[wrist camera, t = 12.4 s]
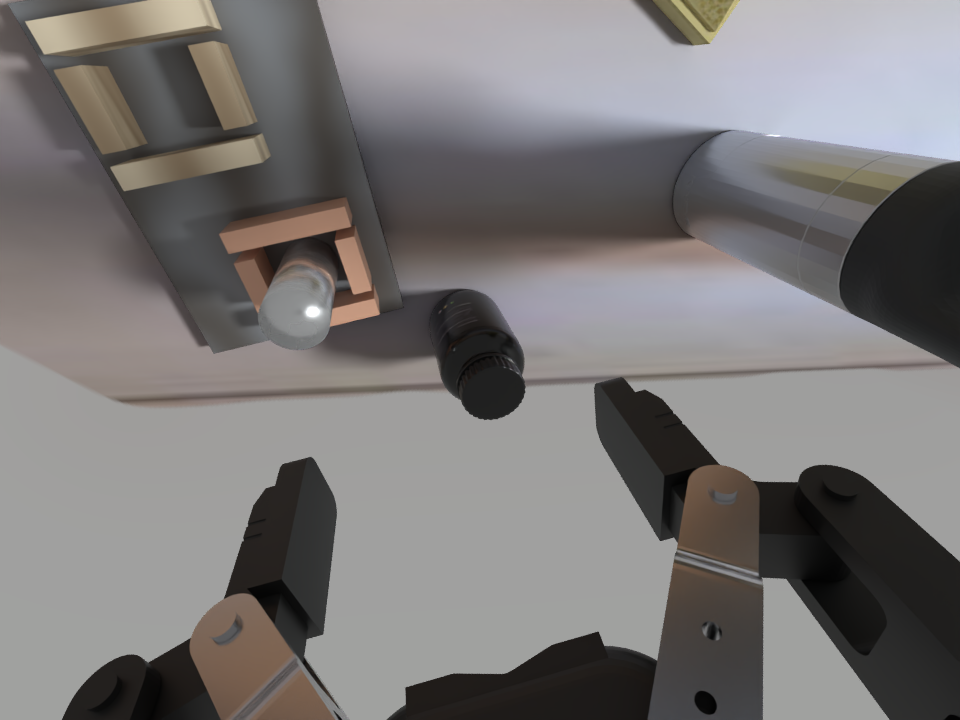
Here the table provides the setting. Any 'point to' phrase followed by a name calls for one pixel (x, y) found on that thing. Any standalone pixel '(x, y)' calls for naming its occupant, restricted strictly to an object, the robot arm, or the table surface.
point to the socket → (294, 226)
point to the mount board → (212, 132)
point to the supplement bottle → (477, 354)
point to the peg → (301, 296)
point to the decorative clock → (697, 17)
